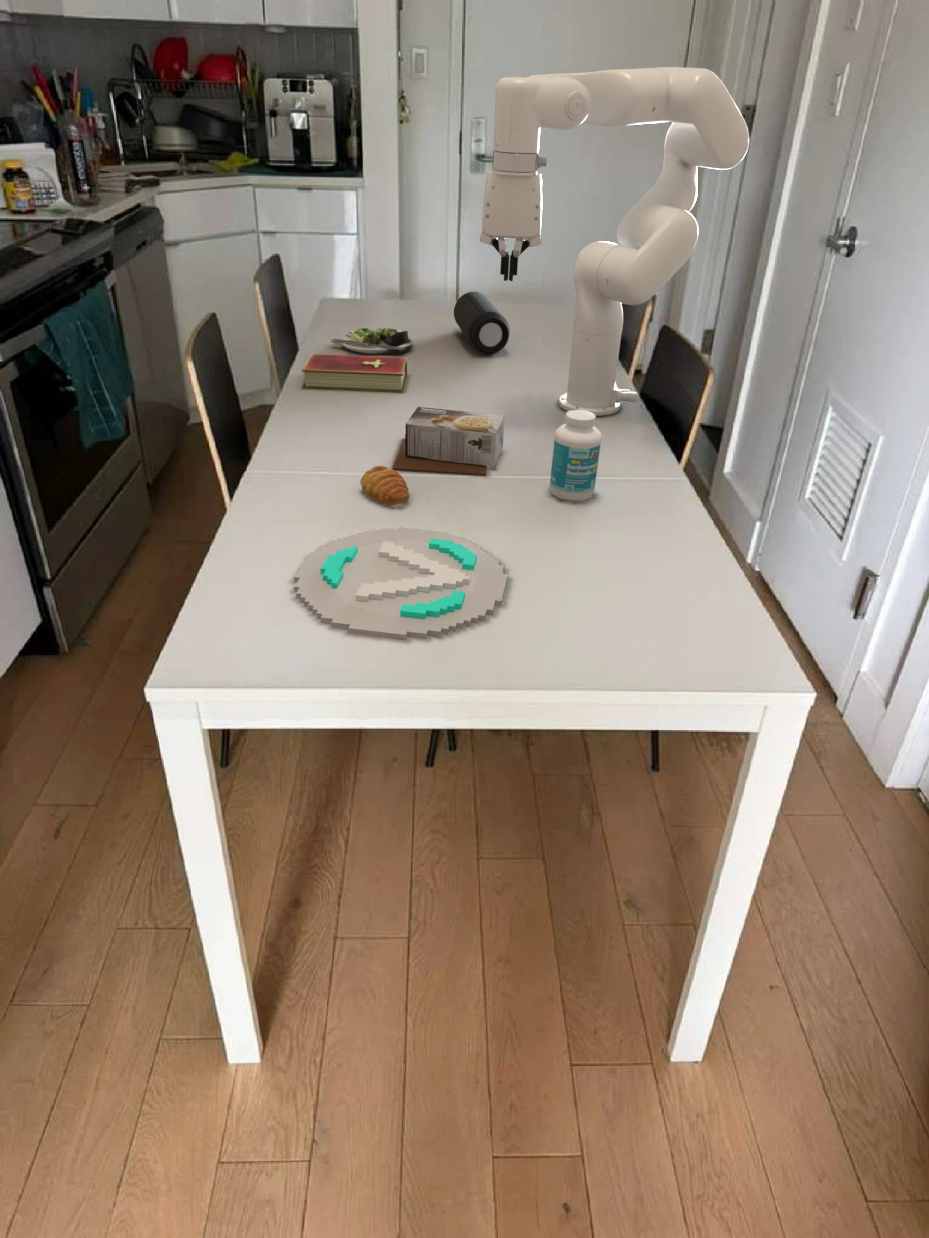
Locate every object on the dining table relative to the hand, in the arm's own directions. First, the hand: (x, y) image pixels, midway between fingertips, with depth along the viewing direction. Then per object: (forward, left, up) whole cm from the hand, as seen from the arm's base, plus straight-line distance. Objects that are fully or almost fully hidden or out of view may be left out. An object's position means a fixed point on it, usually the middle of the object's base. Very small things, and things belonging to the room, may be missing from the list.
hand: (508, 279), depth 157 cm
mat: (+10, +18, -27) cm, 34 cm away
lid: (+11, +62, -27) cm, 69 cm away
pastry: (+17, +35, -27) cm, 48 cm away
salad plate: (+31, -49, -27) cm, 64 cm away
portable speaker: (+7, -57, -27) cm, 64 cm away
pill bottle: (-13, +30, -27) cm, 42 cm away
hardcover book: (+32, -21, -27) cm, 47 cm away
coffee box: (-1, +18, -24) cm, 29 cm away
